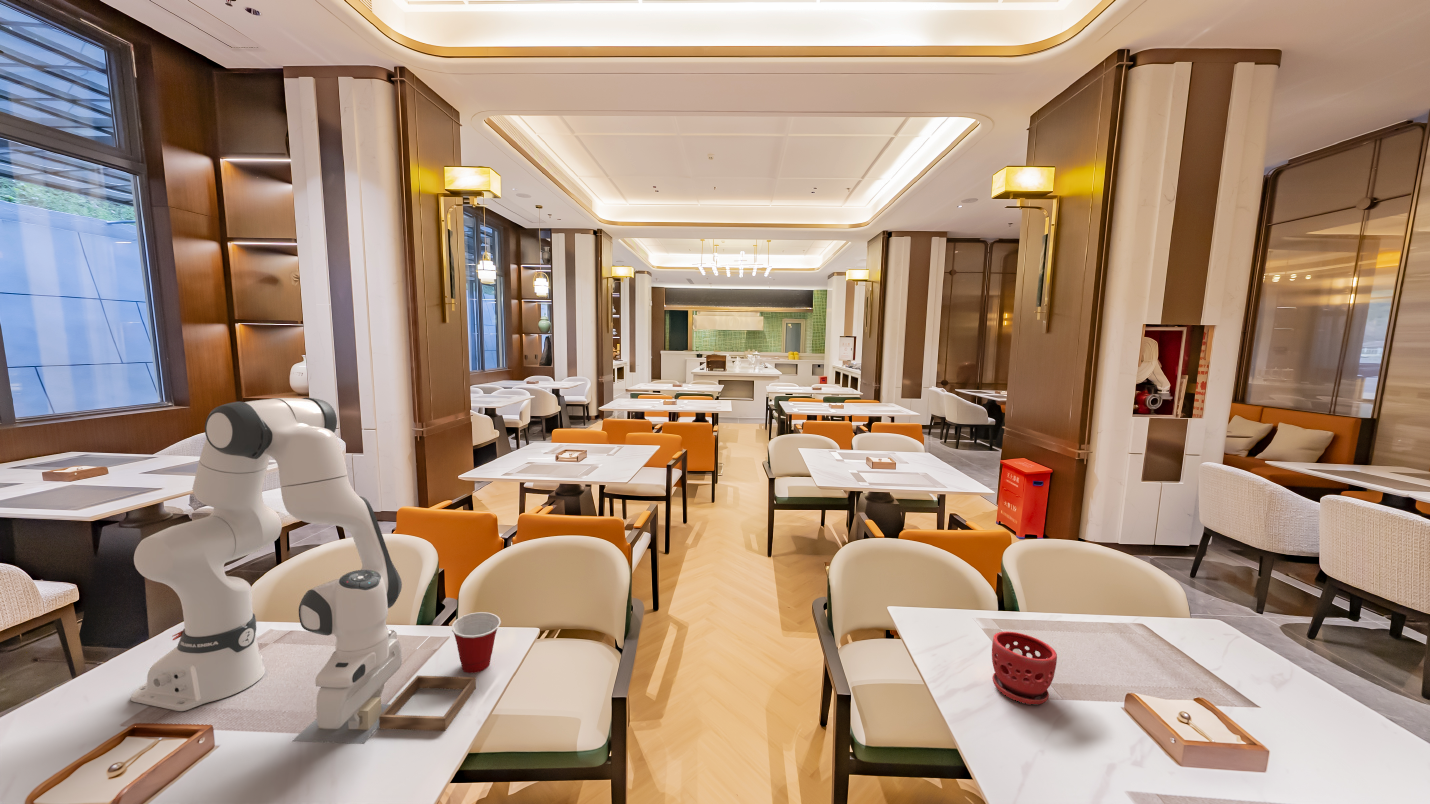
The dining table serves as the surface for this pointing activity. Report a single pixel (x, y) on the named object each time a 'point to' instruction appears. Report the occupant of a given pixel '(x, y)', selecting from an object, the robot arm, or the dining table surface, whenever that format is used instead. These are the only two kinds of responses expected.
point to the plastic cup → (475, 639)
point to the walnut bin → (427, 722)
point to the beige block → (369, 712)
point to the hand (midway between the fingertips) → (365, 717)
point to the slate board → (338, 733)
